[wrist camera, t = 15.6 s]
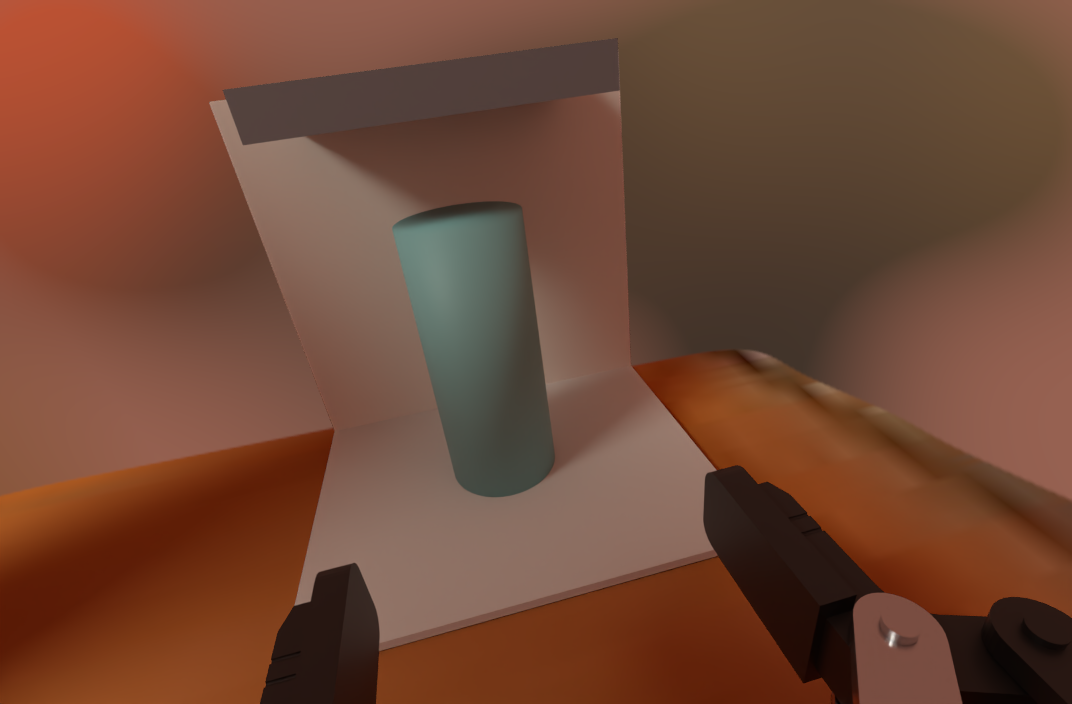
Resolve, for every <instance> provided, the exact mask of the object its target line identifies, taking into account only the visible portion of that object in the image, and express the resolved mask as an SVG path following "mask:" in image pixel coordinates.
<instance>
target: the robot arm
mask: <svg viewBox="0 0 1072 704" xmlns="http://www.w3.org/2000/svg"><path fill="white" fill-rule="evenodd" d="M703 523H704V528H705V532H706V535H707V538H708V540H709V542H710V544H711V546H712V547H713V549H714V550H715V552H716V553H717V555H718V556H719V558H720V559H721V561H722V562H723V564H724V565H725V567H726V568H727V570H728V571H729V573H730V574H731V576H732V577H733V579H734V580H735V582H736V583H737V585H738V586H739V588H740V589H741V591H742V592H743V594H744V595H745V597H746V598H747V600H748V601H749V603H750V604H751V606H752V607H753V609H754V610H755V612H756V613H757V615H758V616H759V618H760V619H761V621H762V622H763V624H764V625H765V627H766V628H767V630H768V631H769V633H770V634H771V636H772V637H773V639H774V640H775V642H776V643H777V645H778V646H779V648H780V649H781V651H782V652H783V654H784V655H785V657H786V658H787V660H788V661H789V663H790V664H791V665H792V667H793V668H794V670H795V671H796V673H797V674H798V676H799V677H800V679H801V680H802V682H803V683H806V682H809V681H812V680H815V679H818V678H821V677H822V678H823V679H824V681H825V682H826V684H827V685H828V686H829V688H830V689H831V691H832V693H831V704H1072V618H1071V617H1069V616H1068V615H1066V614H1065V613H1063V612H1061V611H1059V610H1057V609H1056V608H1054V607H1051V606H1049V605H1047V604H1044V603H1041V602H1038V601H1036V600H1031V599H1027V598H1020V597H1008V598H1003V599H1000V600H998V601H997V602H995V603H994V604H993V606H992V607H991V609H990V612H989V614H988V616H987V617H982V616H957V615H937V614H930V613H928V612H927V611H926V610H925V609H923V608H922V607H920V606H919V605H917V604H916V603H914V602H912V601H910V600H908V599H905V598H903V597H900V596H897V595H894V594H889V593H884V592H883V591H882V590H881V589H880V588H879V587H878V586H877V585H876V584H875V583H874V582H873V581H872V580H871V579H870V578H869V577H868V576H867V575H866V574H865V573H864V572H863V571H862V570H861V569H860V568H859V567H858V565H857V564H856V563H855V562H854V561H853V560H852V559H851V558H850V557H849V556H848V555H847V554H846V553H845V552H844V551H843V550H842V549H841V548H840V547H839V546H838V545H837V543H836V542H835V541H834V540H833V539H832V538H831V537H830V536H829V535H828V534H827V533H826V532H825V531H822V530H821V527H820V526H819V525H818V524H817V522H816V521H815V520H814V519H813V518H812V517H811V516H808V515H807V512H806V511H805V510H804V509H803V508H802V507H801V506H800V505H799V504H798V503H797V502H796V500H795V499H794V498H793V497H792V496H791V495H790V494H788V493H786V492H784V491H783V490H781V489H779V488H777V487H776V486H774V485H772V484H770V483H769V482H765V483H761V484H757V483H756V481H755V480H754V479H753V478H752V477H751V476H750V475H749V474H748V473H747V471H746V470H745V469H744V468H742V467H741V466H738V465H736V466H732V467H728V468H725V469H721V470H717V471H713V472H709V473H707V474H706V476H705V486H704V510H703ZM379 640H380V631H379V621H378V615H377V611H376V608H375V605H374V602H373V600H372V598H371V595H370V593H369V591H368V588H367V586H366V583H365V581H364V579H363V576H362V574H361V571H360V569H359V567H358V565H357V564H356V563H351V564H347V565H344V566H340V567H336V568H332V569H328V570H324V571H320V572H318V573H317V575H316V578H315V582H314V587H313V592H312V597H311V601H310V602H306V603H303V604H299V605H295V606H294V607H293V608H292V610H291V612H290V613H289V615H288V616H287V618H286V620H285V621H284V623H283V624H282V626H281V628H280V629H279V631H278V633H277V637H276V641H275V645H274V649H273V653H272V657H271V660H272V663H271V664H270V665H269V669H268V674H267V678H266V687H265V688H264V690H263V694H262V698H261V702H260V704H376V692H377V675H378V657H379Z"/></svg>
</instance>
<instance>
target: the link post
mask: <svg viewBox="0 0 1072 704" xmlns="http://www.w3.org/2000/svg"><path fill="white" fill-rule="evenodd" d="M392 231H393V235H394V239H395V243H396V247H397V250H398V254H399V258H400V262H401V266H402V270H403V274H404V278H405V282H406V286H407V290H408V294H409V297H410V301H411V305H412V309H413V313H414V317H415V321H416V325H417V329H418V333H419V337H420V341H421V344H422V348H423V352H424V356H425V360H426V364H427V368H428V372H429V376H430V380H431V384H432V388H433V392H434V395H435V399H436V403H437V407H438V411H439V415H440V419H441V423H442V427H443V431H444V435H445V439H446V442H447V446H448V450H449V454H450V458H451V462H452V466H453V470H454V474H455V477H456V480H457V481H458V483H459V484H460V485H461V486H462V487H463V488H464V489H466V490H467V491H469V492H471V493H473V494H476V495H480V496H485V497H504V496H510V495H515V494H518V493H521V492H524V491H526V490H528V489H530V488H532V487H534V486H535V485H537V484H538V483H540V482H541V481H542V480H543V479H544V478H545V477H546V476H547V475H548V474H549V472H550V471H551V469H552V467H553V465H554V461H555V452H554V444H553V437H552V429H551V421H550V414H549V406H548V399H547V391H546V384H545V376H544V369H543V361H542V354H541V346H540V339H539V331H538V324H537V316H536V309H535V301H534V294H533V286H532V279H531V271H530V264H529V256H528V248H527V241H526V233H525V226H524V218H523V211H522V207H521V206H520V205H519V204H516V203H512V202H503V201H486V202H472V203H464V204H457V205H451V206H445V207H440V208H436V209H432V210H428V211H424V212H421V213H417V214H415V215H412V216H409V217H407V218H404V219H402V220H400V221H399V222H397V223H396V224H394V226H393V227H392Z"/></svg>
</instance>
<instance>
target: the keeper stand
mask: <svg viewBox="0 0 1072 704" xmlns="http://www.w3.org/2000/svg"><path fill="white" fill-rule="evenodd" d="M223 92H224V95H225V98H226V100H220V101H213V102H209V103H210V106H211V109H212V111H213V114H214V117H215V119H216V121H217V124H218V127H219V130H220V132H221V135H222V138H223V140H224V143H225V145H226V148H227V151H228V153H229V156H230V159H231V161H232V163H233V166H234V169H235V171H236V174H237V177H238V179H239V182H240V185H241V187H242V190H243V192H244V195H245V198H246V200H247V203H248V206H249V208H250V211H251V214H252V216H253V219H254V221H255V224H256V227H257V229H258V232H259V235H260V237H261V240H262V242H263V245H264V248H265V250H266V253H267V255H268V258H269V261H270V263H271V266H272V268H273V271H274V274H275V276H276V279H277V281H278V284H279V287H280V290H281V292H282V295H283V297H284V300H285V302H286V305H287V308H288V311H289V313H290V316H291V318H292V321H293V323H294V326H295V329H296V331H297V334H298V336H299V339H300V342H301V344H302V347H303V350H304V352H305V355H306V358H307V360H308V363H309V366H310V368H311V371H312V373H313V376H314V379H315V381H316V384H317V386H318V389H319V392H320V394H321V397H322V400H323V402H324V405H325V407H326V410H327V413H328V415H329V418H330V421H331V423H332V426H333V428H334V431H335V432H334V436H333V440H332V445H331V449H330V453H329V458H328V462H327V466H326V471H325V475H324V479H323V484H322V488H321V493H320V497H319V501H318V506H317V510H316V514H315V519H314V523H313V527H312V532H311V536H310V540H309V545H308V549H307V554H306V558H305V562H304V567H303V571H302V575H301V580H300V584H299V588H298V593H297V597H296V601H295V605H299V604H303V603H306V602H310V601H311V597H312V592H313V587H314V582H315V578H316V575H317V573H318V572H320V571H324V570H328V569H332V568H336V567H340V566H344V565H347V564H351V563H356V564H357V565H358V567H359V569H360V571H361V574H362V576H363V579H364V581H365V583H366V586H367V588H368V591H369V593H370V595H371V598H372V600H373V602H374V605H375V608H376V611H377V615H378V621H379V631H380V640H379V651H382V650H385V649H389V648H392V647H396V646H399V645H403V644H406V643H410V642H413V641H417V640H421V639H424V638H428V637H431V636H435V635H438V634H442V633H445V632H449V631H453V630H456V629H460V628H463V627H467V626H470V625H474V624H477V623H481V622H485V621H488V620H492V619H495V618H499V617H502V616H506V615H509V614H513V613H517V612H520V611H524V610H527V609H531V608H534V607H538V606H541V605H545V604H549V603H552V602H556V601H559V600H563V599H566V598H570V597H573V596H577V595H581V594H584V593H588V592H591V591H595V590H598V589H602V588H605V587H609V586H613V585H616V584H620V583H623V582H627V581H630V580H634V579H637V578H641V577H644V576H648V575H652V574H655V573H659V572H662V571H666V570H669V569H673V568H676V567H680V566H684V565H687V564H691V563H694V562H698V561H701V560H705V559H708V558H712V557H716V556H718V555H717V553H716V552H715V550H714V549H713V547H712V546H711V544H710V542H709V540H708V538H707V535H706V532H705V528H704V523H703V510H704V486H705V476H706V474H707V473H709V472H713V471H717V470H716V469H715V468H714V466H713V465H712V464H711V463H710V462H709V460H708V459H707V458H706V457H705V455H704V454H703V453H702V452H701V450H700V449H699V448H698V447H697V446H696V444H695V443H694V442H693V441H692V439H691V438H690V437H689V436H688V435H687V433H686V432H685V431H684V430H683V428H682V427H681V426H680V425H679V424H678V422H677V421H676V420H675V419H674V417H673V416H672V415H671V414H670V413H669V411H668V410H667V409H666V408H665V406H664V405H663V404H662V403H661V401H660V400H659V399H658V398H657V397H656V395H655V394H654V393H653V392H652V390H651V389H650V388H649V387H648V386H647V384H646V383H645V382H644V381H643V379H642V378H641V377H640V376H639V375H638V373H637V372H636V371H635V370H634V368H633V367H632V366H631V353H630V328H629V304H628V279H627V255H626V231H625V206H624V182H623V157H622V132H621V107H620V83H619V58H618V38H615V39H608V40H600V41H592V42H584V43H577V44H569V45H561V46H554V47H546V48H539V49H531V50H523V51H516V52H508V53H500V54H493V55H485V56H477V57H470V58H462V59H455V60H448V61H440V62H432V63H424V64H417V65H409V66H401V67H394V68H386V69H379V70H371V71H364V72H356V73H349V74H341V75H333V76H326V77H318V78H310V79H302V80H295V81H287V82H280V83H272V84H264V85H257V86H249V87H241V88H234V89H227V90H223ZM486 201H503V202H512V203H516V204H519V205H520V206H521V207H522V211H523V218H524V226H525V233H526V241H527V248H528V256H529V264H530V271H531V279H532V286H533V294H534V301H535V309H536V316H537V324H538V331H539V339H540V346H541V354H542V361H543V369H544V376H545V384H546V391H547V399H548V406H549V414H550V421H551V429H552V437H553V444H554V452H555V461H554V465H553V467H552V469H551V471H550V472H549V474H548V475H547V476H546V477H545V478H544V479H543V480H542V481H541V482H540V483H538V484H537V485H535V486H534V487H532V488H530V489H528V490H526V491H524V492H521V493H518V494H515V495H510V496H504V497H485V496H480V495H476V494H473V493H471V492H469V491H467V490H466V489H464V488H463V487H462V486H461V485H460V484H459V483H458V481H457V480H456V477H455V474H454V470H453V466H452V462H451V458H450V454H449V450H448V446H447V442H446V439H445V435H444V431H443V427H442V423H441V419H440V415H439V411H438V407H437V403H436V399H435V395H434V392H433V388H432V384H431V380H430V376H429V372H428V368H427V364H426V360H425V356H424V352H423V348H422V344H421V341H420V337H419V333H418V329H417V325H416V321H415V317H414V313H413V309H412V305H411V301H410V297H409V294H408V290H407V286H406V282H405V278H404V274H403V270H402V266H401V262H400V258H399V254H398V250H397V247H396V243H395V239H394V235H393V231H392V227H393V226H394V224H396V223H397V222H399V221H400V220H402V219H404V218H407V217H409V216H412V215H415V214H417V213H421V212H424V211H428V210H432V209H436V208H440V207H445V206H451V205H457V204H464V203H472V202H486Z"/></svg>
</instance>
